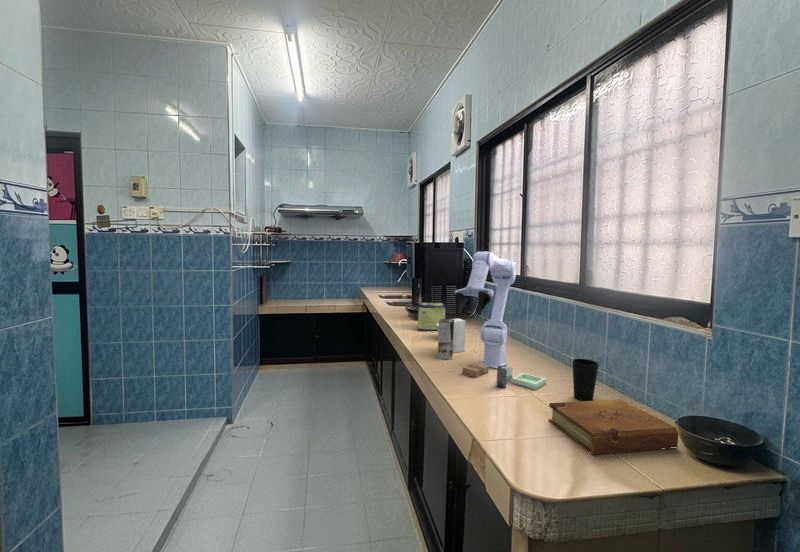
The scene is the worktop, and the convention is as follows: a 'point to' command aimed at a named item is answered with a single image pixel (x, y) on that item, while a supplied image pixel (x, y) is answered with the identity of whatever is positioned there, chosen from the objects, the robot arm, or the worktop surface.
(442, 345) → the coffee box
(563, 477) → the worktop surface
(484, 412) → the worktop surface
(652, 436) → the diary
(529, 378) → the green tray
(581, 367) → the cup
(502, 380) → the steel pin
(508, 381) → the block
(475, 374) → the brown rectangular block
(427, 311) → the protein box
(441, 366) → the worktop surface
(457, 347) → the skincare box
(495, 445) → the worktop surface
